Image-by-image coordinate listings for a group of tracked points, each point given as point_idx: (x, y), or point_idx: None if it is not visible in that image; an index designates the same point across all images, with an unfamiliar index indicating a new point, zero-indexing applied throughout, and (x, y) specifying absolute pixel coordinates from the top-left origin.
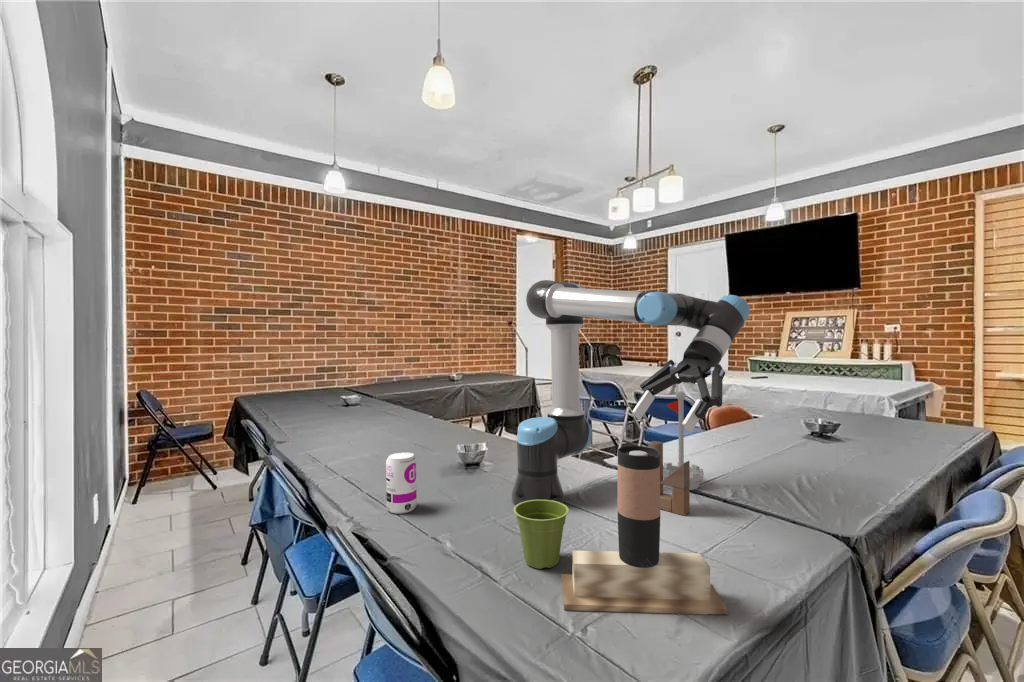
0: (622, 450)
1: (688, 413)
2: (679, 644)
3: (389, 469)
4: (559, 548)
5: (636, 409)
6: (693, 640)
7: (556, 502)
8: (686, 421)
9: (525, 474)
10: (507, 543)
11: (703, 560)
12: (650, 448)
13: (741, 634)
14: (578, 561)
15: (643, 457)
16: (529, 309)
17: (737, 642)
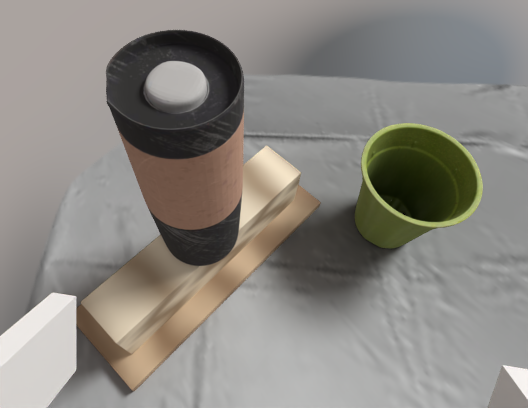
0: (239, 85)
1: (16, 348)
2: (108, 206)
3: None
4: (363, 220)
5: (518, 389)
6: (96, 225)
7: (440, 222)
8: (40, 303)
9: None
10: (471, 220)
11: (99, 317)
12: (162, 128)
13: (42, 286)
14: (267, 154)
15: (130, 45)
16: None
17: (43, 264)
